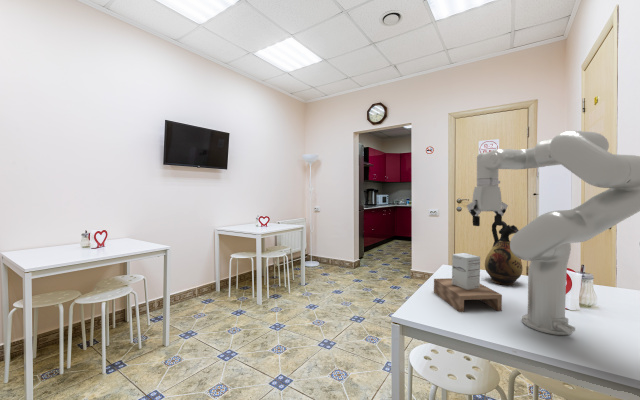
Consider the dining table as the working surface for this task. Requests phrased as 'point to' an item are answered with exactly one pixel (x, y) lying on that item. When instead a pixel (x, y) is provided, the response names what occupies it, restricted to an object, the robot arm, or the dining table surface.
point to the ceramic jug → (503, 257)
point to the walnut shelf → (466, 294)
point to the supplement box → (466, 271)
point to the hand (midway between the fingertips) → (487, 225)
